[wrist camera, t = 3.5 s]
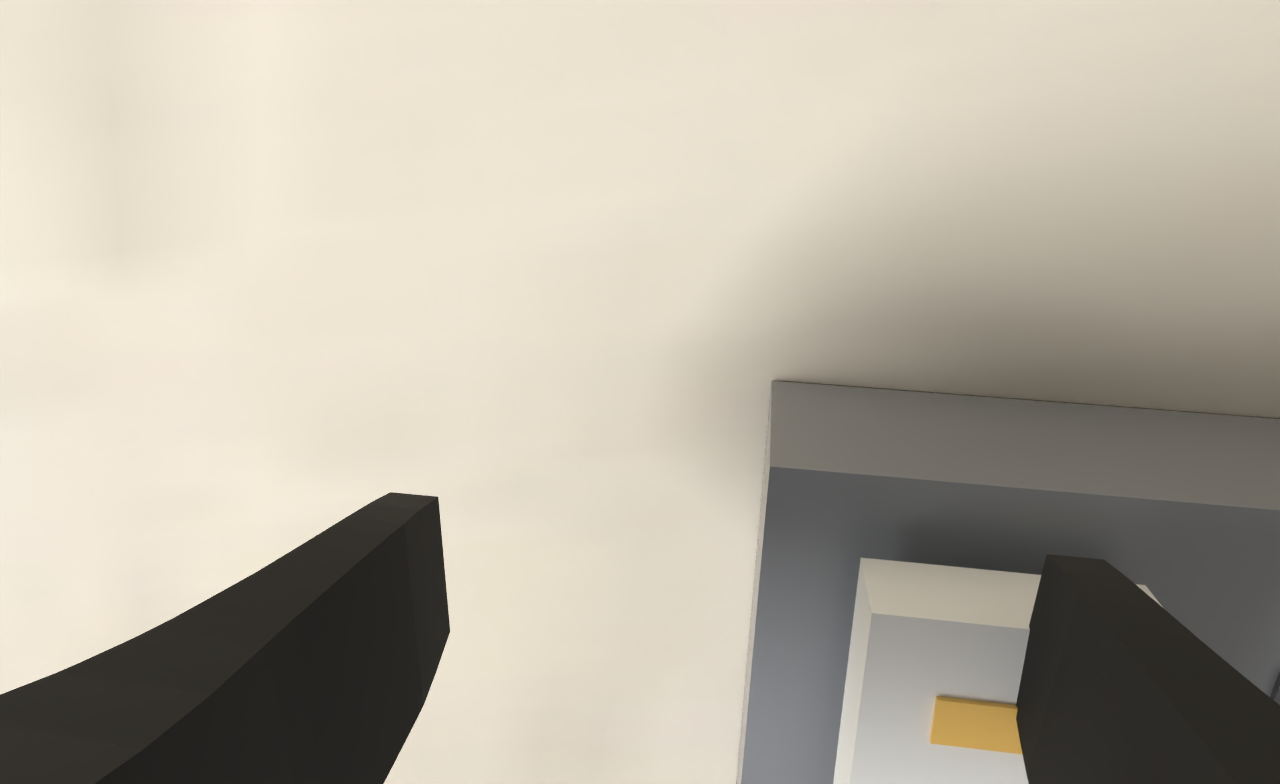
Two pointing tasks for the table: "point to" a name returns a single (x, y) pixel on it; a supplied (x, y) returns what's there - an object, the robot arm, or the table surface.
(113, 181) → the table surface
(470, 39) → the table surface
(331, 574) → the robot arm
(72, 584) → the table surface
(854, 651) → the rocker
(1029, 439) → the grey flat tray
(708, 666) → the table surface
